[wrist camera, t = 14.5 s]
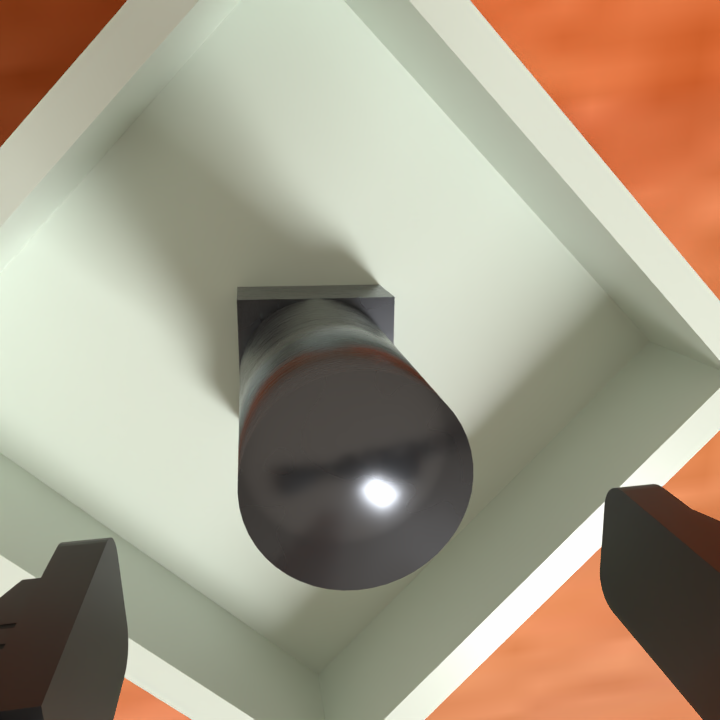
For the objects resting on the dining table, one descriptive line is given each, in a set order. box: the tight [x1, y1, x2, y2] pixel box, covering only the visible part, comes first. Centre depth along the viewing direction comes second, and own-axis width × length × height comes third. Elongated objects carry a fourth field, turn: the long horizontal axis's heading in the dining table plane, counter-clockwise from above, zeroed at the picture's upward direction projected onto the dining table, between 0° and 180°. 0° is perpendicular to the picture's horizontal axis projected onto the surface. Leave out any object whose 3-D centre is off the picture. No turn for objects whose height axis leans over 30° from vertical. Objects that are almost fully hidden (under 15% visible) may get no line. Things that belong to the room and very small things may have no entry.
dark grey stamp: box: [237, 285, 473, 591], centre depth 16 cm, size 4×4×9 cm
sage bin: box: [0, 0, 720, 720], centre depth 19 cm, size 18×18×5 cm
